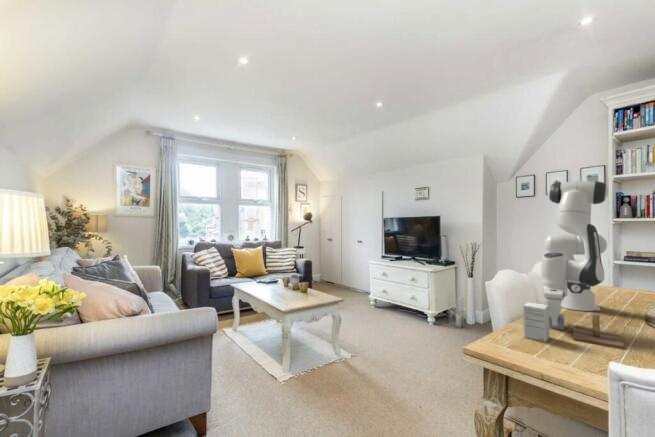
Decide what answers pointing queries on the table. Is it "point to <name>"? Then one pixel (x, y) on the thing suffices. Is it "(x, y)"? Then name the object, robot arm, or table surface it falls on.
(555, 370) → the table surface
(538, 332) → the supplement box
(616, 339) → the post board
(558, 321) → the collar
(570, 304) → the robot arm
